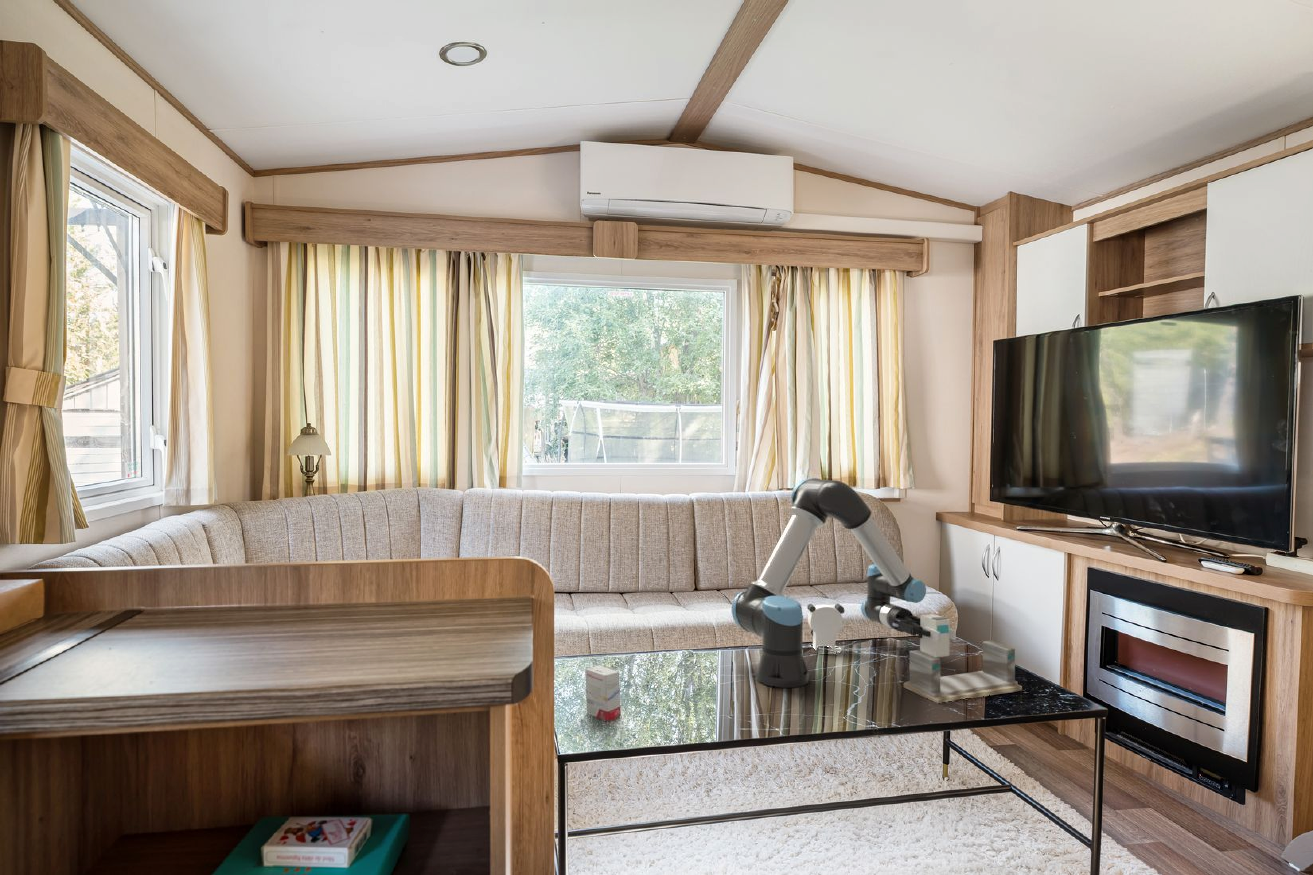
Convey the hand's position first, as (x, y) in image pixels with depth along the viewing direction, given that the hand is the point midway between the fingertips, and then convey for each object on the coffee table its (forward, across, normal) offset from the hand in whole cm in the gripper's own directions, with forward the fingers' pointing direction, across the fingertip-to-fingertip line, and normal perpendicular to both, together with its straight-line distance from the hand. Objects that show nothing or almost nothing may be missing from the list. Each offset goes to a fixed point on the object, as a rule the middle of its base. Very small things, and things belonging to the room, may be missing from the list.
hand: (946, 636), depth 225 cm
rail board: (+11, +4, -12) cm, 16 cm away
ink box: (-6, +104, -14) cm, 105 cm away
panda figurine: (-35, +19, -12) cm, 42 cm away
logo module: (-5, 0, -7) cm, 8 cm away
